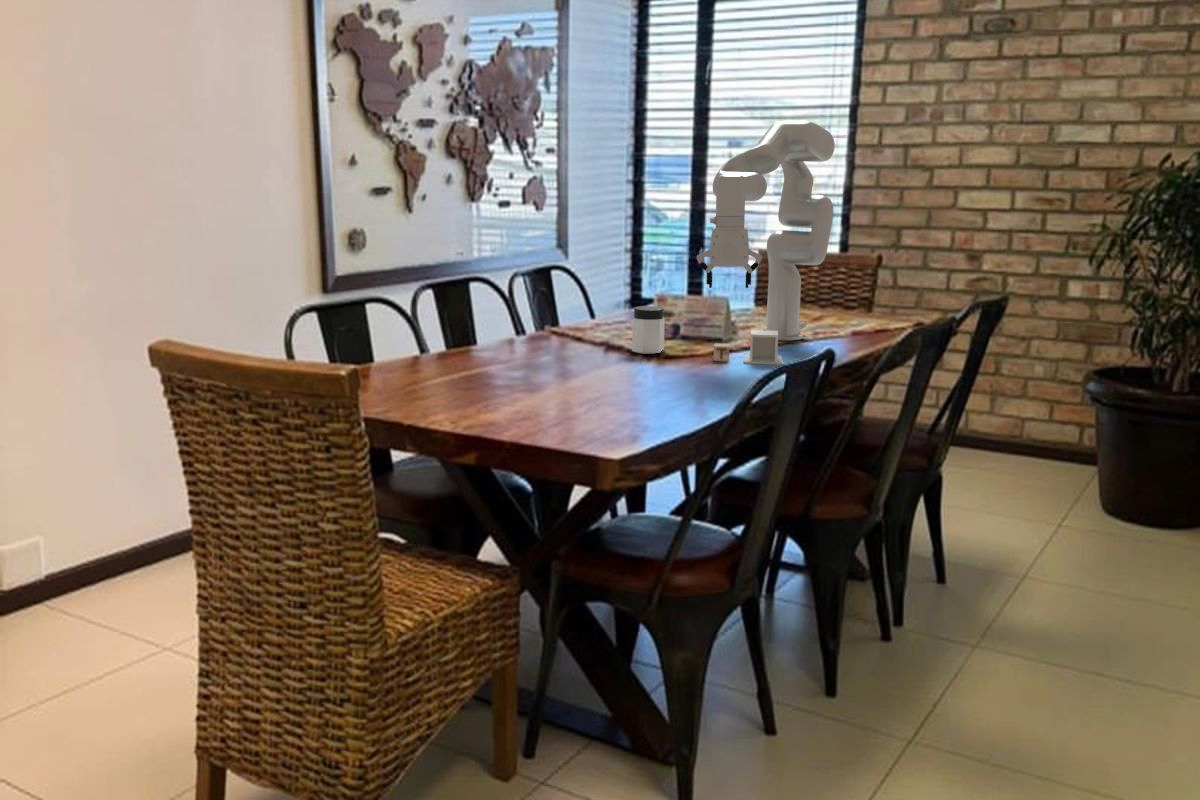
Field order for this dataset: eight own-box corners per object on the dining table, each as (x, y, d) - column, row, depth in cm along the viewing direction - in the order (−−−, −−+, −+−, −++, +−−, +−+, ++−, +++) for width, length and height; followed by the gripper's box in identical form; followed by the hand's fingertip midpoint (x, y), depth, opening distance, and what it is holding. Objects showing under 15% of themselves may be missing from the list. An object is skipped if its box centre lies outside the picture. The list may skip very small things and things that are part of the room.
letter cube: (713, 358, 275) (714, 343, 275) (728, 358, 275) (729, 343, 274) (713, 361, 271) (714, 346, 271) (728, 361, 271) (729, 346, 270)
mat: (744, 356, 278) (744, 354, 278) (781, 357, 276) (781, 355, 276) (743, 363, 268) (743, 361, 268) (782, 364, 267) (782, 363, 267)
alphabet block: (749, 355, 276) (751, 330, 274) (776, 356, 275) (777, 330, 273) (749, 360, 269) (751, 334, 268) (776, 361, 268) (778, 335, 267)
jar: (670, 352, 283) (671, 308, 280) (647, 355, 278) (648, 311, 275) (648, 347, 290) (649, 305, 287) (626, 350, 285) (627, 307, 282)
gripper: (696, 223, 267) (695, 289, 271) (763, 224, 264) (761, 289, 269) (697, 221, 274) (696, 284, 278) (763, 221, 271) (761, 285, 276)
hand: (728, 287), depth 274 cm, fingers open, 9 cm apart
